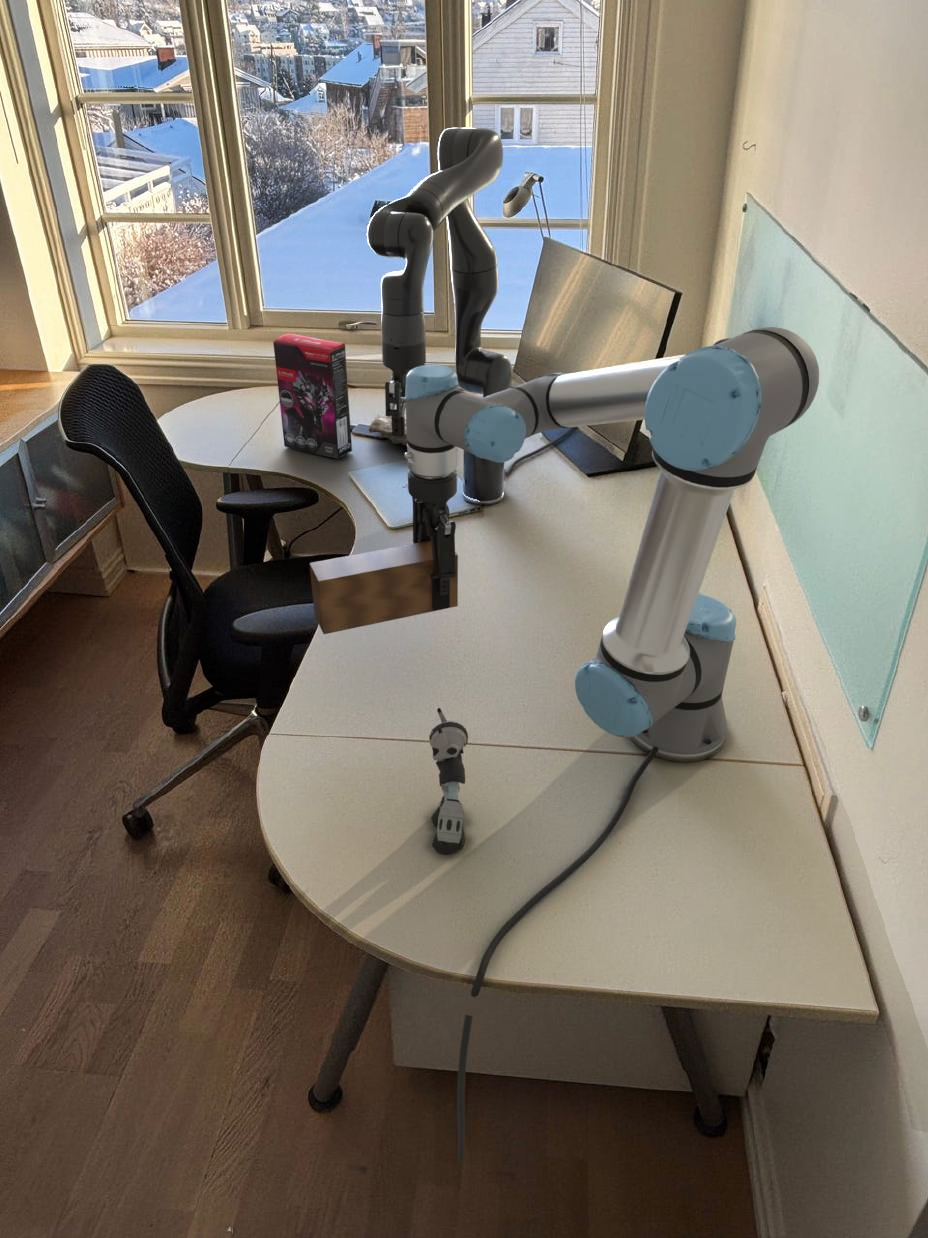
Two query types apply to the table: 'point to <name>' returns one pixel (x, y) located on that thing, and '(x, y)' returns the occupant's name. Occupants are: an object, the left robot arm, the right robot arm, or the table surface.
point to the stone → (387, 429)
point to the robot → (449, 784)
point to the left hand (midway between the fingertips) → (406, 426)
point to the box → (375, 587)
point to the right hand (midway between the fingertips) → (434, 597)
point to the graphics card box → (313, 395)
